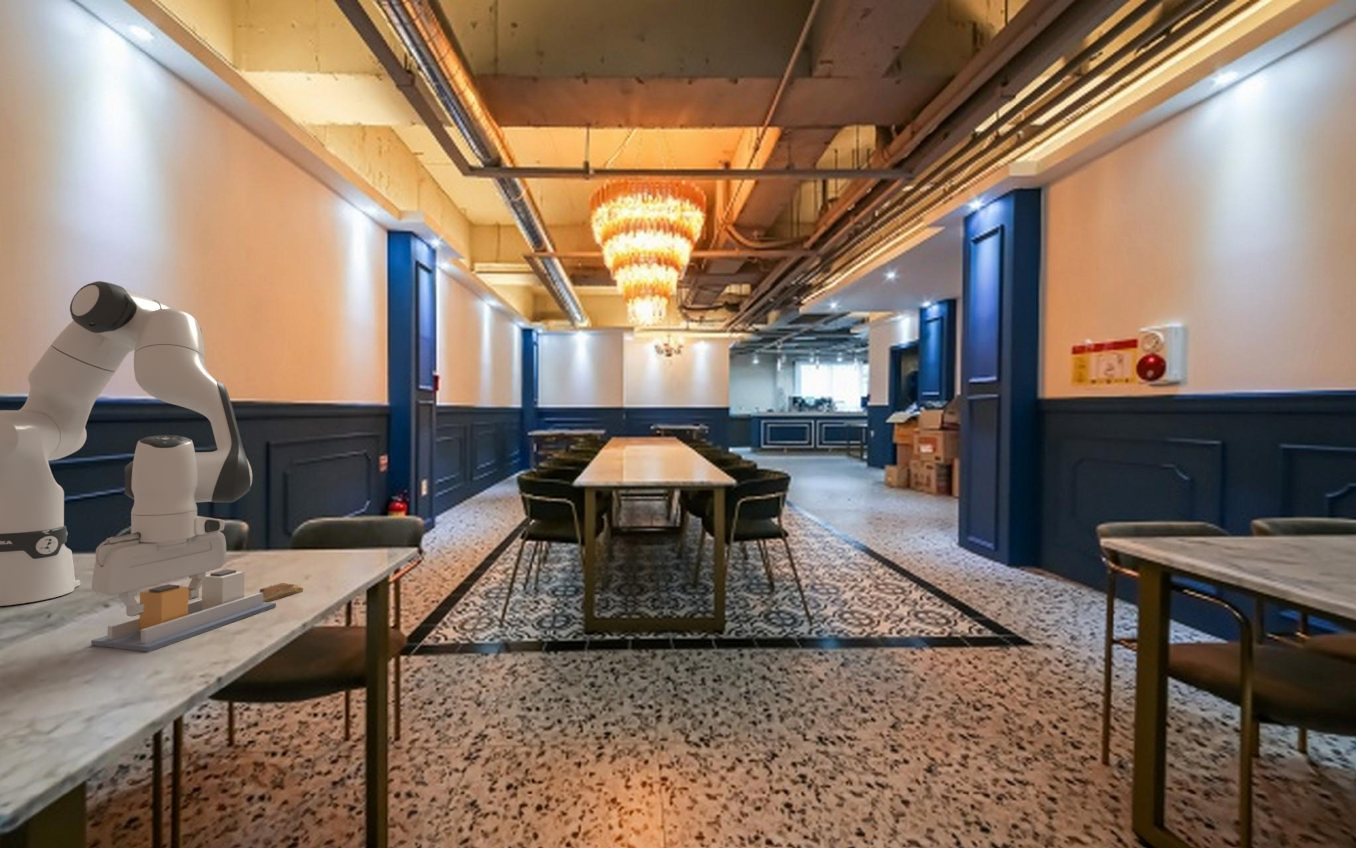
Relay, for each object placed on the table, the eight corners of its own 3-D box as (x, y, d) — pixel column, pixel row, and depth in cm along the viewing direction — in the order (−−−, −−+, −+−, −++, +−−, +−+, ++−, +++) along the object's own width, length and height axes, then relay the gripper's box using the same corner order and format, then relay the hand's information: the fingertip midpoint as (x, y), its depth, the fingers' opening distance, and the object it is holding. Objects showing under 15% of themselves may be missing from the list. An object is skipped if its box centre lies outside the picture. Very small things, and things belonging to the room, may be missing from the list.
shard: (258, 608, 122) (258, 599, 122) (229, 604, 124) (229, 595, 124) (304, 593, 132) (304, 585, 132) (277, 589, 135) (277, 581, 135)
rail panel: (91, 645, 100) (91, 596, 100) (226, 602, 123) (227, 562, 123) (148, 651, 98) (149, 601, 97) (275, 607, 121) (276, 566, 121)
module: (139, 632, 104) (139, 589, 104) (166, 623, 108) (166, 583, 108) (161, 634, 103) (161, 591, 103) (188, 626, 107) (188, 584, 107)
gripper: (112, 540, 95) (111, 628, 95) (232, 519, 115) (232, 592, 115) (81, 538, 96) (80, 624, 96) (206, 518, 116) (205, 589, 116)
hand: (164, 606), depth 106 cm, fingers open, 8 cm apart
